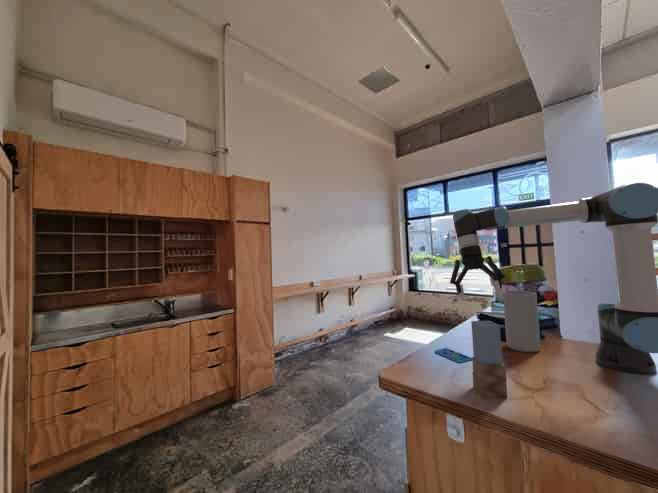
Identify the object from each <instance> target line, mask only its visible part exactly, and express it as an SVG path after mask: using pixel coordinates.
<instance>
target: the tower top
mask: <svg viewBox="0 0 658 493" xmlns="http://www.w3.org/2000/svg"><path fill="white" fill-rule="evenodd" d="M471 358H472V360H471V361H472V373H473V372H474V373H475V375H476V376H477V377H478V378H479V379H480V380H481V381H482V382H506V383H507V381H508V380H507V367H506V364H504V362H502V364H489V365H482V364H481V363H480V362H479V361H478V360H476V359H475V358H474V356H471Z"/></svg>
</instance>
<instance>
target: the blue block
mask: <svg viewBox="0 0 658 493" xmlns="http://www.w3.org/2000/svg"><path fill="white" fill-rule="evenodd" d="M500 325H501V324H499V323H495V322H494V321H492V320H471V335H472V349H473V357H474V358H475V359H476V360H478V361H479V362H480V363H481V364H482V365H489V364H502V363H503V354H502V340H501V339H502V338H501V326H500Z"/></svg>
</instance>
